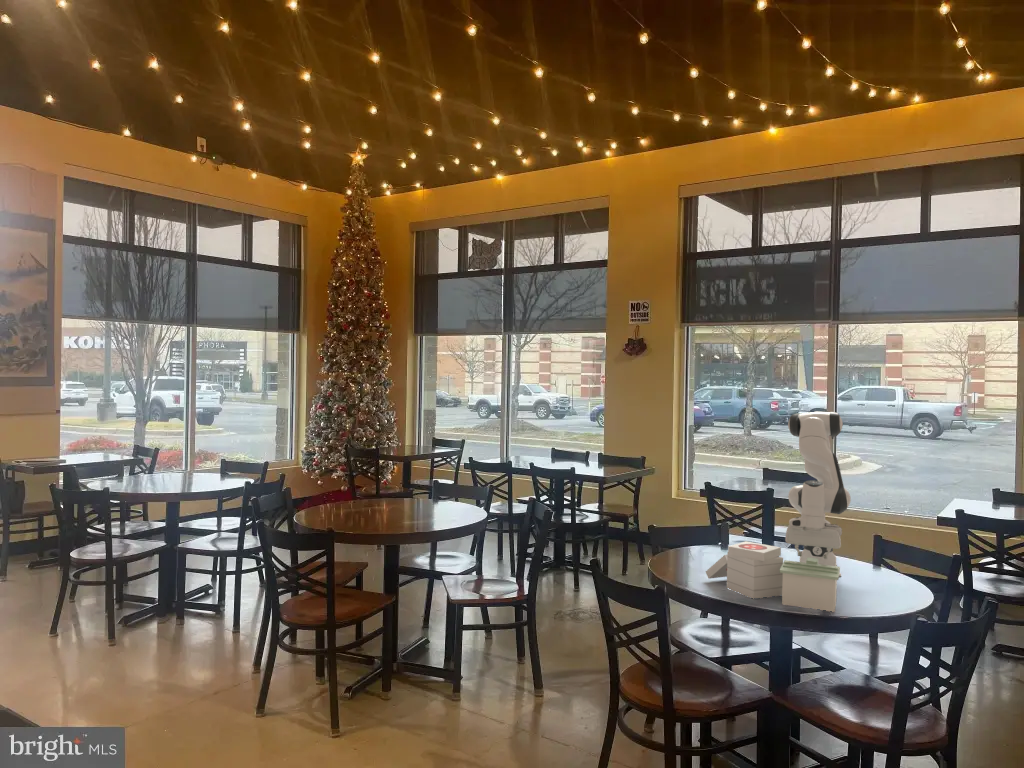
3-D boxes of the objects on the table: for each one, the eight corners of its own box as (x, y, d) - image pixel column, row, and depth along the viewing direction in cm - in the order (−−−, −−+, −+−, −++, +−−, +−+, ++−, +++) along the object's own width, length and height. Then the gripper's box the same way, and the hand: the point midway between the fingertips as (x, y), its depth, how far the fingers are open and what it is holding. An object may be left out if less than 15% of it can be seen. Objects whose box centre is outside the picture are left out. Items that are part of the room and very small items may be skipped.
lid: (785, 563, 286) (786, 554, 286) (840, 570, 277) (840, 561, 277) (779, 576, 265) (779, 567, 265) (838, 584, 256) (838, 574, 256)
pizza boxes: (736, 577, 303) (737, 535, 304) (790, 596, 276) (791, 550, 276) (700, 581, 296) (701, 538, 296) (752, 601, 268) (753, 553, 268)
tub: (786, 593, 280) (787, 563, 280) (836, 600, 271) (837, 569, 272) (782, 604, 265) (782, 572, 265) (834, 612, 257) (835, 579, 257)
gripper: (842, 523, 278) (841, 559, 277) (786, 518, 287) (786, 552, 287) (841, 526, 272) (841, 562, 272) (785, 520, 281) (784, 555, 281)
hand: (812, 557), depth 279 cm, fingers open, 8 cm apart
